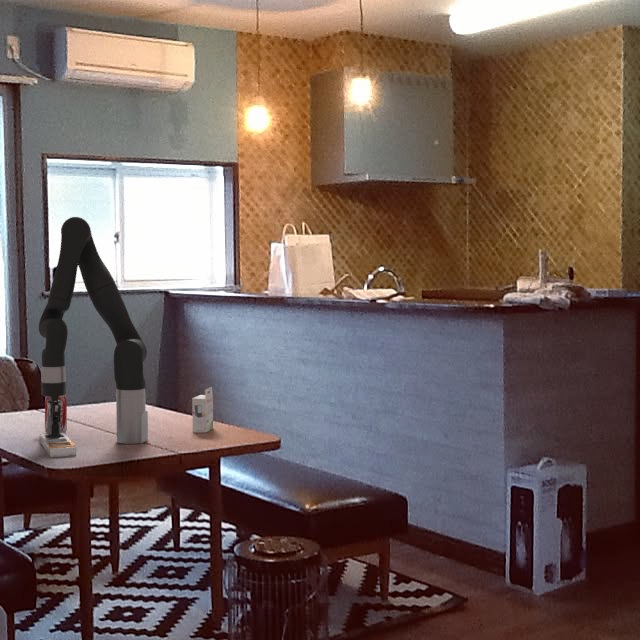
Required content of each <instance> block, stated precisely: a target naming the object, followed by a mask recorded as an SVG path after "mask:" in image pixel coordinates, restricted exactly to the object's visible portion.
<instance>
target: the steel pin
mask: <svg viewBox="0 0 640 640" xmlns="http://www.w3.org/2000/svg"><path fill="white" fill-rule="evenodd" d="M54 419H57V416H54ZM60 420H61V416H60ZM58 437H61V421H60V422H59V435H55V436H53V435H52V429H51V417H50V416H48V438H58Z"/></svg>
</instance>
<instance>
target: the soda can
mask: <svg viewBox="0 0 640 640" xmlns="http://www.w3.org/2000/svg"><path fill="white" fill-rule="evenodd" d="M66 397H67V396H66V394H65V395H63V396H59V400H60V401H61V415H60V416H61V433H65V434H66V432H67V430H68V428H67V427H68V426H67V425H68V418H67V416H68V415H67V412H68V411H67V410H68V406H67V405H68V402H67V401H68V399H67V398H66ZM48 400H49V396H48V397H47V396H45V400H44V432H45V434H48V406H47V401H48Z"/></svg>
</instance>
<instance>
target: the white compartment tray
mask: <svg viewBox="0 0 640 640" xmlns="http://www.w3.org/2000/svg"><path fill="white" fill-rule="evenodd" d="M39 436H40V437H39V439H40V440H39V441H40V443H41V445H42V447H43V448H44V449H45V452H46V453H47V454H48V456H49V458H60V457H74V456H75V455H76V456H77V446H76V444H75V443H74V442H73V441H72V440H71V439H70V438H69V437H68V436H67V434H66V432H65V433H61V437H58V438H48V434H47V433H41V434H40V435H39ZM76 456H75V457H76Z"/></svg>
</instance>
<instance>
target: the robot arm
mask: <svg viewBox="0 0 640 640" xmlns="http://www.w3.org/2000/svg"><path fill="white" fill-rule="evenodd" d="M61 225H62V226H61V229H60V235H61V238H60V250H59V255H58V260H57V266H56V269H55V272H54V276H53V280H52V282H51V286H50V291H49V294H48V299H47V303H46V306H45V307H44V309H43V311H42V313H41V316H40V319H39V322H38V333H39V335H40V336H41V337H42V338H44V339H45V347H44V348H43V349H42V351H41V373H40V376H41V377H40V381H41V383H40V385H41V386H40V387H41V388H40V389H41V396H43V397H48V396H49V400H48V401H47V406H48V416H50V417H51V429H52V435H53V436H55V435H59V422H60V421H61V420H60V415H61V401H60V400H59V396H63V395H65V396H66V394H67V378H66V377H67V375H66V373H67V372H66V366H65V365H66V362H65V360H66V357H65V350H66V346H67V342H68V341H67V340H68V326H67V323H66V322H65V320H63V318H64V315H65V313H66V312H68V310H69V309H70V307H71V305H72V304H71V303H72V300H73V296H74V290H75V288H76V287H75V285H76V280H77V272H78V267H79V271H80V274H81V277H82V281H83V284H84V287H85V289H86V292H87V294H88V296H89V298H90V301H91V303H92V305H93V307H94V309H95V310H96V312H97V313H98V315H99V316H100V318H101V319H102V320H103V321H104V323H106V325H107V326H108V327H109V330H110V331H111V333H112V336H113V338H114V341H115V342H116V346H115V348H114V351H113V370H114V371H113V372H114V373H113V374H114V382H115V389H116V390H115V397H116V398H115V399H116V401H115V402H116V404H115V407H116V408H115V409H116V412H115V413H116V418H115V419H116V443H118V444H122V445H123V444H126V445H133V444H134V445H135V444H143V443H146V442H147V441H148V440H149V426H148V425H149V414H148V413H149V412H148V411H147V410H146V409H147V408H146V379H145V377H144V364H143V363H144V361H145V360H146V358H147V356H148V355H147V354H148V351H147V346H146V344H145V342H144V341H143V339H142V337H141V336H140V334H139V331H137V328H136V327H135V325H134V323H133V322H132V319H131V316H130V315H129V312H128V310H127V306H126V304H125V302H124V299H123V298H122V295H121V293H120V291H119V288H118V285H117V283H116V281H115V279H114V278H113V276H112V274H111V272H110V271H109V269H108V267H107V266H106V265H105V263H104V261H103V260H102V258H101V256H100V254H99V252H98V250H97V247H96V244H95V242H94V238H93V236H92V235H93V234H92V230H91V227H90V224H89V223H88V222H87V220H85V219H84V218H82V217H79V216H72V217H69V218H68V219H66V220H65V221H64V222H63V223H62V224H61ZM54 416H57V419H54Z"/></svg>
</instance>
